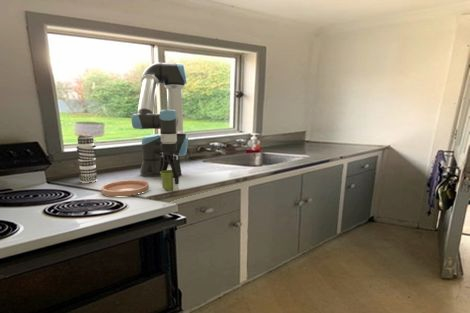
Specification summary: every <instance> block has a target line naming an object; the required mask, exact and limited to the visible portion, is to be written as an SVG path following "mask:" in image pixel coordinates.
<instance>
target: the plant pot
mask: <svg viewBox="0 0 470 313" xmlns="http://www.w3.org/2000/svg"><path fill="white" fill-rule="evenodd" d="M160 174H161V181H162V180H163V185H164V187H163V189H164V190H165V191H173V172H172V169H167V170H164V171H161V172H160Z"/></svg>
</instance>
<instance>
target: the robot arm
mask: <svg viewBox="0 0 470 313" xmlns="http://www.w3.org/2000/svg"><path fill="white" fill-rule="evenodd" d="M187 78H188V77H187V73H186V66H185V65H184V63H183V62H181V63H179V62H155V63H153V64H151V65H148V67H146V69H145V70H144V71H143V73H142V75H141V79H140V82H141V84H142V86H141V90H140V97H139V103H138V109H137V113H132V115H131V125H132V128H133V129H135V130H136V129H137V130H138V129H139V130H154V129H155V130H158V129H159V130H160V132H159V134H149V135H145V136H143V137H142V138H141V151H142V154H141V155H142V162H141V167H140V170H139V172H140V173H139V175H140V176H141V177H160V176H161V174H160V172H161V171H164V170H168V167H170V168H171V169H170V170H172V172H173V190H172V191H173V192H176V191H179V190H180V185H179V184H180V177H182V176H183V174H182V170H181V163H180V162H181V161H180V157H184V156H186V155H187V152H188V146H189V145H188V144H189V136H188V135H187V134H186V132H185V131H184V117H183V115H184V112H183V111H184V110H183V90H184V89H185V85H186V84H188V80H187ZM159 84H164V88H165V89H166V93H167V98H166V100H167V109H161V110H160V111H159V113H154V111H155V110H154V109H155V100H156V93H157V87H158V86H159ZM169 165H170V166H169ZM161 177H162V176H161ZM161 184H162V185H161V187H162V188H164V185H163V180H162V179H161Z"/></svg>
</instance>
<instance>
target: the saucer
mask: <svg viewBox="0 0 470 313" xmlns="http://www.w3.org/2000/svg"><path fill="white" fill-rule="evenodd" d="M100 189H101V190H100V191H101V195H103V194H104V195H108V196H128V197H132V196H131V195H134V194H138V193H142V192H145V191H147V190H148V189H150V184H149V182H147V181H145V180H137V179H136V180H135V179H132V180H131V179H130V180H129V179H127V180H119V181H113V182H109V183H106V184H104V185H102V186H101V188H100ZM148 191H149V190H148ZM148 191H147V192H148ZM145 193H146V192H145ZM142 194H143V193H142ZM104 195H103V196H104ZM108 196H107V197H108Z"/></svg>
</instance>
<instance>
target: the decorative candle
mask: <svg viewBox="0 0 470 313" xmlns="http://www.w3.org/2000/svg"><path fill="white" fill-rule="evenodd" d="M94 138H95V137H94V136H93V135H91V134H87V133H86V134H79V135H78V137H77V146H76V152H77V161H78V162H79V169H78V171H79V172H78V174H79V180H80V182H82V183H81V184H90V183H89V182H92V183H95V181H96V182H97V181H98V173H97V172H98V171H97V169H98V168H97V165H96V159H97V156H96V154H97V152H96V151H97V150H96V149H95V148H96V145H95V141H94Z"/></svg>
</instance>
